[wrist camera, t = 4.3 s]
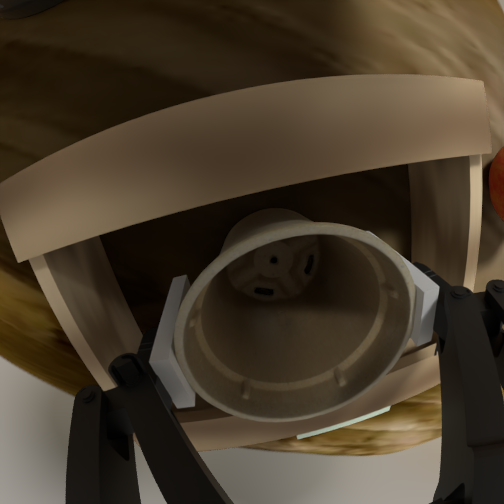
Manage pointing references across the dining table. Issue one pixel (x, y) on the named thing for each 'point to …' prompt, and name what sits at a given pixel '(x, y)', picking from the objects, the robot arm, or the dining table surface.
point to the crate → (246, 182)
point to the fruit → (497, 183)
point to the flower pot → (294, 318)
